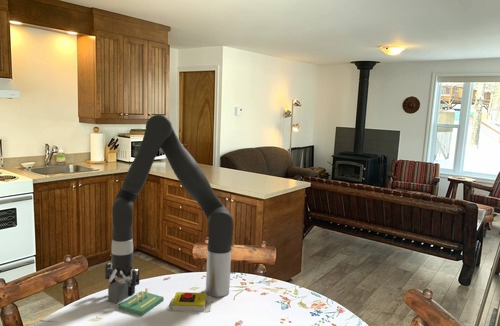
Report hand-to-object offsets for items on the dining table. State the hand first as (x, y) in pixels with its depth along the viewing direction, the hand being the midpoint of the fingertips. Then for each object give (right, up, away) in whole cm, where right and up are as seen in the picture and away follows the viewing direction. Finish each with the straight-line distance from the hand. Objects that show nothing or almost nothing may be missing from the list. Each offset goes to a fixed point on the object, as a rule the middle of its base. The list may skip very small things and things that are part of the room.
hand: (121, 293), depth 139 cm
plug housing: (0, -2, 0) cm, 2 cm away
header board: (+9, -3, -5) cm, 10 cm away
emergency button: (+26, -4, -3) cm, 26 cm away
